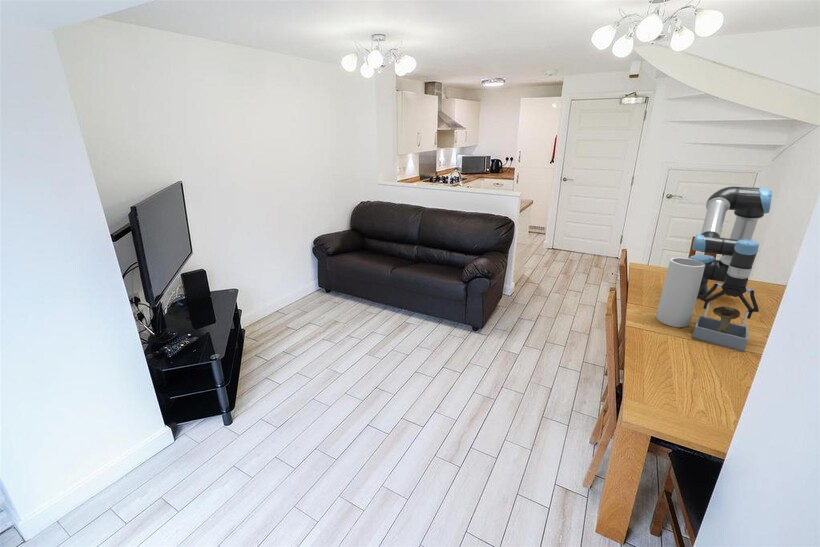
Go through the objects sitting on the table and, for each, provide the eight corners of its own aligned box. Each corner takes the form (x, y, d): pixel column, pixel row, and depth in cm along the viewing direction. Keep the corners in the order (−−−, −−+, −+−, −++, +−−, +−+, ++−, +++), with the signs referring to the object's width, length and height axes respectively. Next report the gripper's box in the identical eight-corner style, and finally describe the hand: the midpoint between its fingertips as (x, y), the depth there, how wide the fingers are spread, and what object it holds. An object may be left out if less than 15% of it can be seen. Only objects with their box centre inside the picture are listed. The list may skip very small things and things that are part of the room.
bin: (695, 326, 188) (698, 315, 186) (744, 338, 177) (748, 326, 175) (691, 338, 177) (695, 326, 175) (744, 352, 166) (748, 339, 164)
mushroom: (736, 343, 171) (746, 313, 166) (714, 341, 173) (723, 311, 168) (724, 333, 180) (733, 304, 175) (703, 331, 182) (712, 302, 176)
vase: (686, 318, 196) (702, 259, 185) (692, 330, 184) (709, 268, 173) (653, 313, 202) (667, 255, 191) (657, 324, 189) (672, 264, 179)
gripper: (701, 271, 171) (689, 314, 178) (776, 285, 156) (760, 331, 163) (702, 267, 176) (691, 309, 184) (775, 280, 161) (760, 325, 169)
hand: (723, 319), depth 174 cm, fingers open, 13 cm apart
